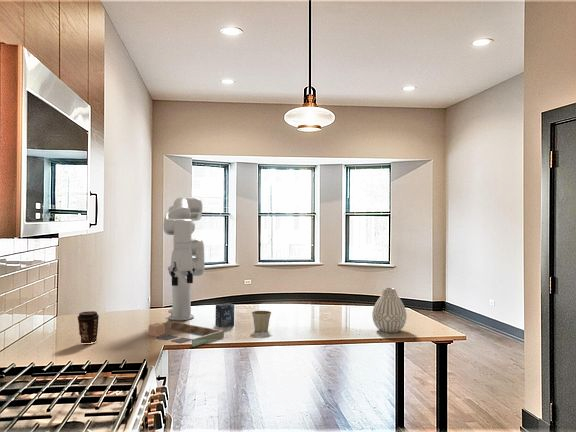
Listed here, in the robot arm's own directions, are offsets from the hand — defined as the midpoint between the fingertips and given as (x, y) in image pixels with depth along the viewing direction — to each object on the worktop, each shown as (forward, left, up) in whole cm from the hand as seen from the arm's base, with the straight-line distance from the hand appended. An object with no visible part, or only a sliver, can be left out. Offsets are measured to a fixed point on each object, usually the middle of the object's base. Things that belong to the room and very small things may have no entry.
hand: (182, 284), depth 228 cm
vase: (+74, +62, -23) cm, 99 cm away
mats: (+2, -7, -23) cm, 24 cm away
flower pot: (+24, +28, -23) cm, 43 cm away
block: (-11, -5, -23) cm, 26 cm away
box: (+3, +26, -23) cm, 35 cm away
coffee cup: (-23, -32, -23) cm, 46 cm away
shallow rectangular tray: (+2, -2, -23) cm, 23 cm away
